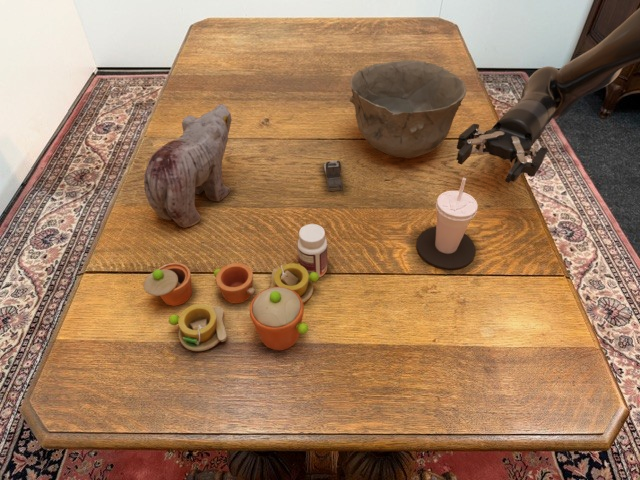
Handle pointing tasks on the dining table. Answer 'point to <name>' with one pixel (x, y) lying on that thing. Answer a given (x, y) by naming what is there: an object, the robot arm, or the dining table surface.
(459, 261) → the coaster
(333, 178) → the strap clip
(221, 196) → the sculpture
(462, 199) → the smoothie
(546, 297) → the dining table surface
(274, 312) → the toy tea set
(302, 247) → the pill bottle
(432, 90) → the bowl
